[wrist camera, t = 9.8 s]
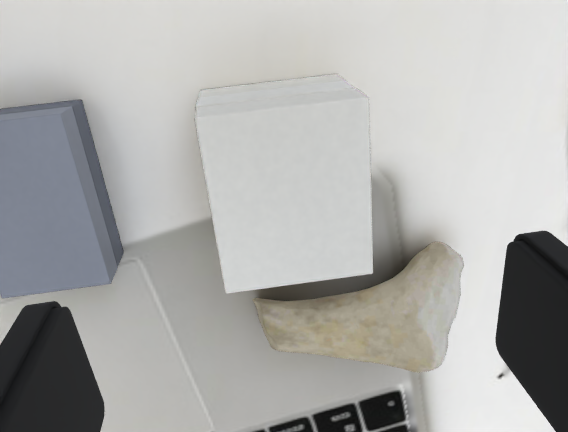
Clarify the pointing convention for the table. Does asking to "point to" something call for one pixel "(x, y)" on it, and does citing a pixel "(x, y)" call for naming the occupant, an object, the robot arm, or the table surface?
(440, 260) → the stone
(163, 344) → the table surface
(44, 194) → the grey-blue block
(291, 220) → the white book
